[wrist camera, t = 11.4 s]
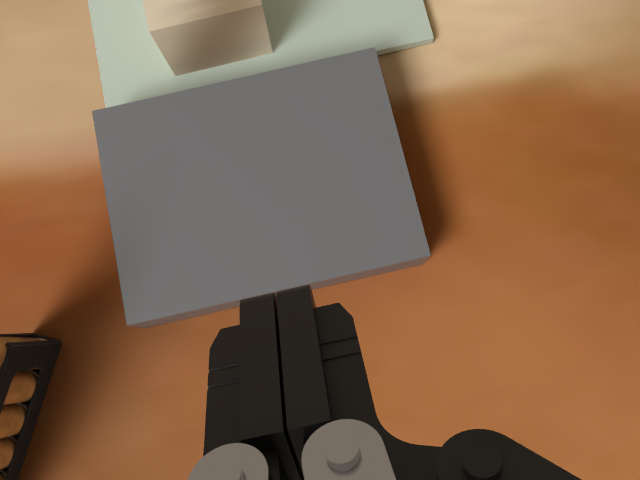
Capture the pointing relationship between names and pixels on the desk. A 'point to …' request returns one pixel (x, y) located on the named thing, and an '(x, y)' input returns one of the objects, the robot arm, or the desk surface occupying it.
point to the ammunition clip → (22, 393)
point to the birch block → (207, 32)
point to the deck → (256, 188)
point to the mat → (288, 50)
